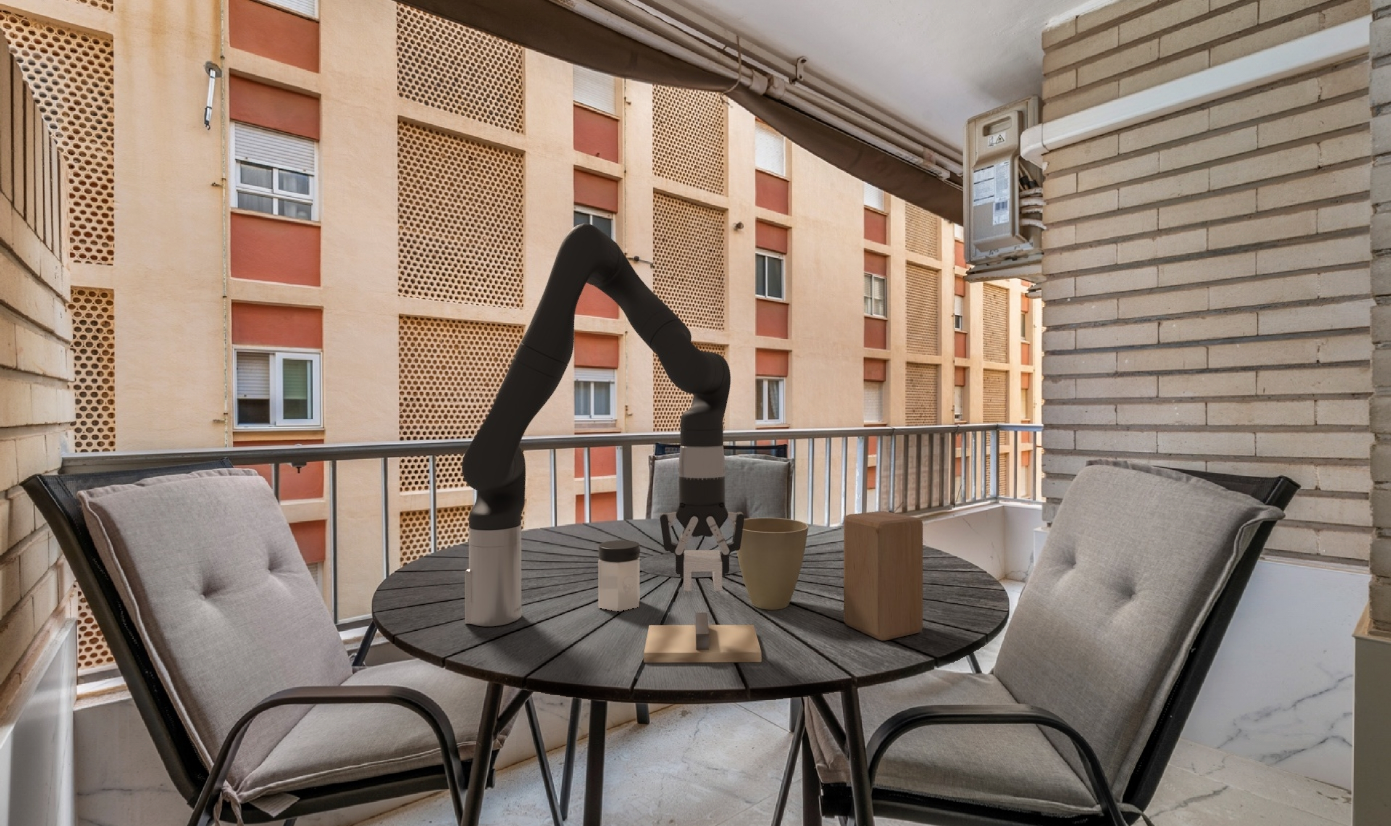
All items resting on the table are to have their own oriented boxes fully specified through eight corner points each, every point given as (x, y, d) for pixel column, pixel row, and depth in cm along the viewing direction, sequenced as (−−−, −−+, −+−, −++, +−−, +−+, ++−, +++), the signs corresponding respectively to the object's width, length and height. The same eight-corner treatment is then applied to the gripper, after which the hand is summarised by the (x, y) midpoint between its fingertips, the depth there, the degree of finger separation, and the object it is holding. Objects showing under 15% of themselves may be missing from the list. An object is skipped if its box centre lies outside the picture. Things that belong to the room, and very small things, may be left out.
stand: (643, 662, 94) (643, 636, 94) (649, 633, 106) (649, 610, 106) (761, 662, 94) (761, 636, 94) (753, 633, 106) (753, 610, 106)
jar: (607, 614, 116) (607, 551, 116) (590, 603, 123) (590, 543, 123) (649, 606, 121) (649, 545, 121) (630, 595, 128) (630, 538, 128)
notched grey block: (683, 590, 96) (683, 562, 96) (684, 576, 104) (684, 550, 104) (722, 590, 96) (722, 561, 96) (719, 576, 104) (719, 550, 104)
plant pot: (717, 604, 122) (717, 524, 122) (762, 588, 133) (762, 515, 133) (779, 622, 112) (779, 535, 112) (822, 603, 123) (822, 523, 123)
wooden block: (882, 643, 102) (882, 523, 102) (841, 625, 111) (841, 513, 110) (925, 633, 106) (925, 518, 106) (882, 616, 115) (883, 509, 115)
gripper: (743, 471, 104) (744, 570, 104) (658, 471, 104) (659, 570, 104) (748, 475, 96) (748, 582, 97) (656, 476, 96) (656, 583, 96)
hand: (702, 576), depth 100 cm, fingers closed on notched grey block, 6 cm apart
